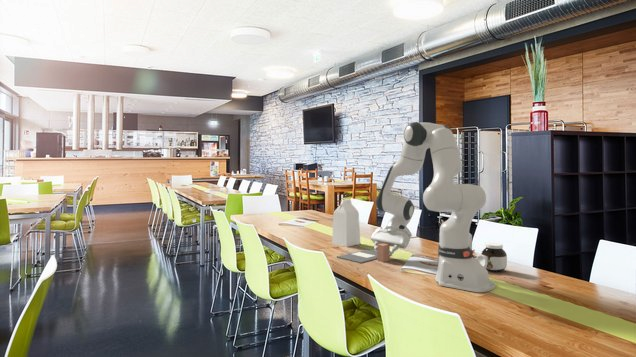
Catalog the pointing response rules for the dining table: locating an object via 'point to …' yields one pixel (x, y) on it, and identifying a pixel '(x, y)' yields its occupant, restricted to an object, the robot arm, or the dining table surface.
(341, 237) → the milk
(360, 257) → the charcoal mat
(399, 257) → the dining table surface
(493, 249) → the spread jar
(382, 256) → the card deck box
